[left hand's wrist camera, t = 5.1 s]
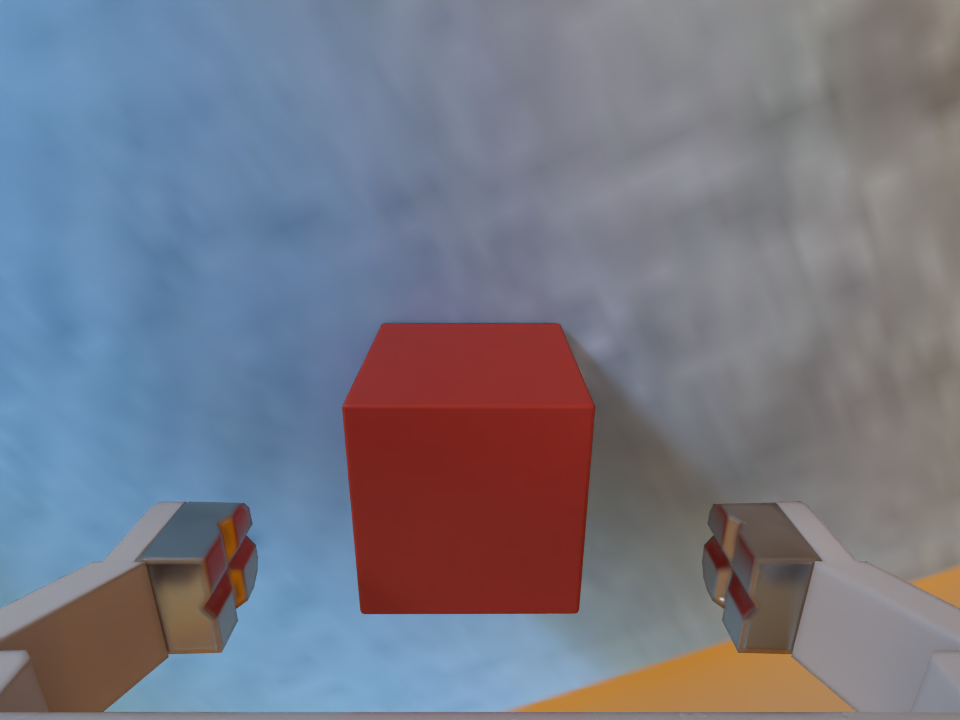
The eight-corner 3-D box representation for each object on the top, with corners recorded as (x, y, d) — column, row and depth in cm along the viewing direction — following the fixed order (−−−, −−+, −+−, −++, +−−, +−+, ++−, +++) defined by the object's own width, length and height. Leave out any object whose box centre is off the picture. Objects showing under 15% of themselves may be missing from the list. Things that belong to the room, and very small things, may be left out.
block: (552, 485, 16) (579, 615, 12) (391, 485, 16) (359, 616, 12) (560, 322, 15) (596, 405, 10) (381, 322, 15) (340, 405, 10)
